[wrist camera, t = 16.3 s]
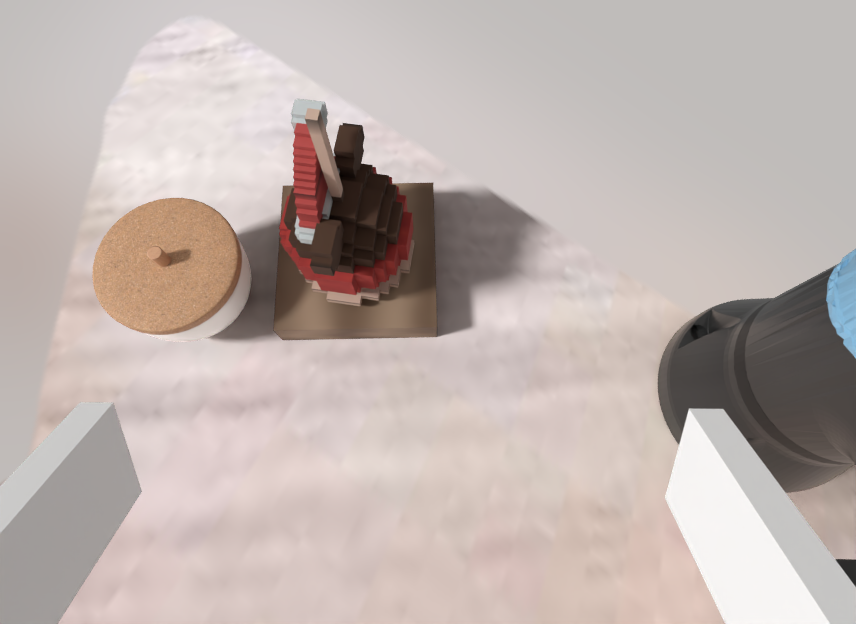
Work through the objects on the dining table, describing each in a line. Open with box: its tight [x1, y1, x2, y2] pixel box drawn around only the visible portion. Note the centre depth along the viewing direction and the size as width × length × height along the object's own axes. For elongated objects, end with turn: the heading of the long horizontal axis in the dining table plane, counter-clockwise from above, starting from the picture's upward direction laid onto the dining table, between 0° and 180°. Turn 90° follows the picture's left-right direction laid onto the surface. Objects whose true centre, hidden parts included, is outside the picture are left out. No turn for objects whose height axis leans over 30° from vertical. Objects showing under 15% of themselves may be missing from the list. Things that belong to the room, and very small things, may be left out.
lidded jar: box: [93, 198, 251, 342], centre depth 44 cm, size 11×11×9 cm
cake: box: [279, 99, 414, 306], centre depth 37 cm, size 11×9×18 cm
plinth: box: [273, 183, 437, 340], centre depth 47 cm, size 13×13×3 cm
